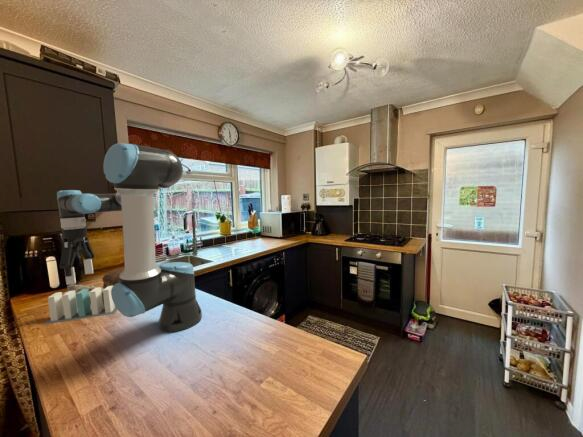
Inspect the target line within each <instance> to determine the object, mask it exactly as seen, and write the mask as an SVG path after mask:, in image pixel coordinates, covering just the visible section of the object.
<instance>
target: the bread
mask: <svg viewBox="0 0 583 437" xmlns="http://www.w3.org/2000/svg"><path fill="white" fill-rule="evenodd" d="M124 270H125V267H122V268H118V269H113V270H110V271H109V272H108V273H106V274H104V275H103V277H102V282H103V285H102V288H104V289H105V288H106V287H108V286H114V285H115V284H117V283H120V279H119V275H120V274H121V273H122V272H123V271H124Z"/></svg>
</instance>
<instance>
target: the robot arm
mask: <svg viewBox="0 0 583 437" xmlns="http://www.w3.org/2000/svg"><path fill="white" fill-rule="evenodd" d="M102 166H103V174H104V175H105V179H106V180H107V181H108V182H109V183H112V184H113V187H114V190H115V191H117V192H115V193H88V192H87V193H82V191H81V190H79V189H77V190H76V189H67V190H65V189H64V190H58V191H57V192H56V197H57V198H56V201H57V207H58V213H59V219H60V221H59V222H60V228H61V229H62V230H61V236H62V239H64V240H67V241H64V242H62V244H61V247H62V248H61V256H60V260H59V269H61V270H64V276H65V283H66V284H65V285H67V286H68V285H71V284H74V285H75V284H77V280H76V272H75V267H74V266H73V265H74V262H75V258H76V256H77V253H80V255H81V256H82V258H83V265H84V274H85V275H91V274H94V266H93V265H94V264H93V260H92V259H95V253H94V251H93V248H92V246H91V244H90V241H89V238H88V237H87V236H88V230H87V229H88V228H86V226H87V223H86V222H87V219H86V215H87V214H88V215H89V214H93V213H95V214H96V213H98V214H99V213H107V212H121V220H122V222H121V223H122V240H123V242H122V243H123V259H124V268H125V270H124V271H123V272H122V273H121V274H120V275H119V279H120V283H117V284H115V285H114V286H113V287H112V289H111V296H112V300H113V302H114V304H115V306H116V308H117V309H118V310H117V311H118V312H119V313H120V314H121V315H122V316H125V317H127V318H134V317H136V316H139V315H142V314H145V313H146V312H148V311H150V310H152V309H155V308H157V307H159V306H162V309H161V312H160V316H159V320H158V324H159V329H160V330H161V331H164V332H179V331H184V330H186V329H189V328H191V327H194V326H195V325H197V324H198V323H199V322H200V321H201V320H202V318H203V314H202V313H203V312H202V308H201V307H200V305H199V302H198V300H197V298H196V297H197V295H196V285H195V284H196V283H195V271H194V266H193V264H192V263H191V262H184V261H183V262H182V261H173V262H167V263H166V262H164V263H162V264H159V266H158V265H157V262H156V260H157V259H156V234H155V231H156V230H155V202H154V196H155V194H156V193H157V192H158V191H159V190H161V189H169V188H170V187H172V186H173V185H174V186H175V184H177V183H179V181H180V180H181V178H182V176H183V174H184V173H183V172H184V168H183V164H182V161H181V160H180V158H179V157H178V156H177V155H176V154H175V153H173V152H172V151H170V150H167V149H163V148H161V149H160V148H156V147H151V146H144V145H140V144H135V143H123V142H119V143H118V142H117V143H114V144H113V145H111V146H110V147H109V149H108V150H107V151H106V154H105V156H104V160H103V165H102Z"/></svg>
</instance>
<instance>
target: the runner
mask: <svg viewBox="0 0 583 437" xmlns="http://www.w3.org/2000/svg"><path fill="white" fill-rule="evenodd" d="M117 311H118V309H117V308H116V307H115V308H114V309H113V311H112V312H109V313H105V306H103V310H102V311H101V312H100V313H99V314H96V315H92V308H91V311H90V312H89V313H88V314H87V315H86V316H83V317H79V314H78V313H77V314H76V315H75V316H73V317H72V318H70V319H65V315H64V316H62V317H61V318H60V319H58V320H57V321H51V318H49V319H47V321H45V322H43V324H41V325H42V326H44V325H50V324H57V323H64V322H69V321H70V322H71V321H76V320H83V319H89V318H96V317H103V316H107V315H108V316H109V315H114V314H115V313H116V312H117Z"/></svg>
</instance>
